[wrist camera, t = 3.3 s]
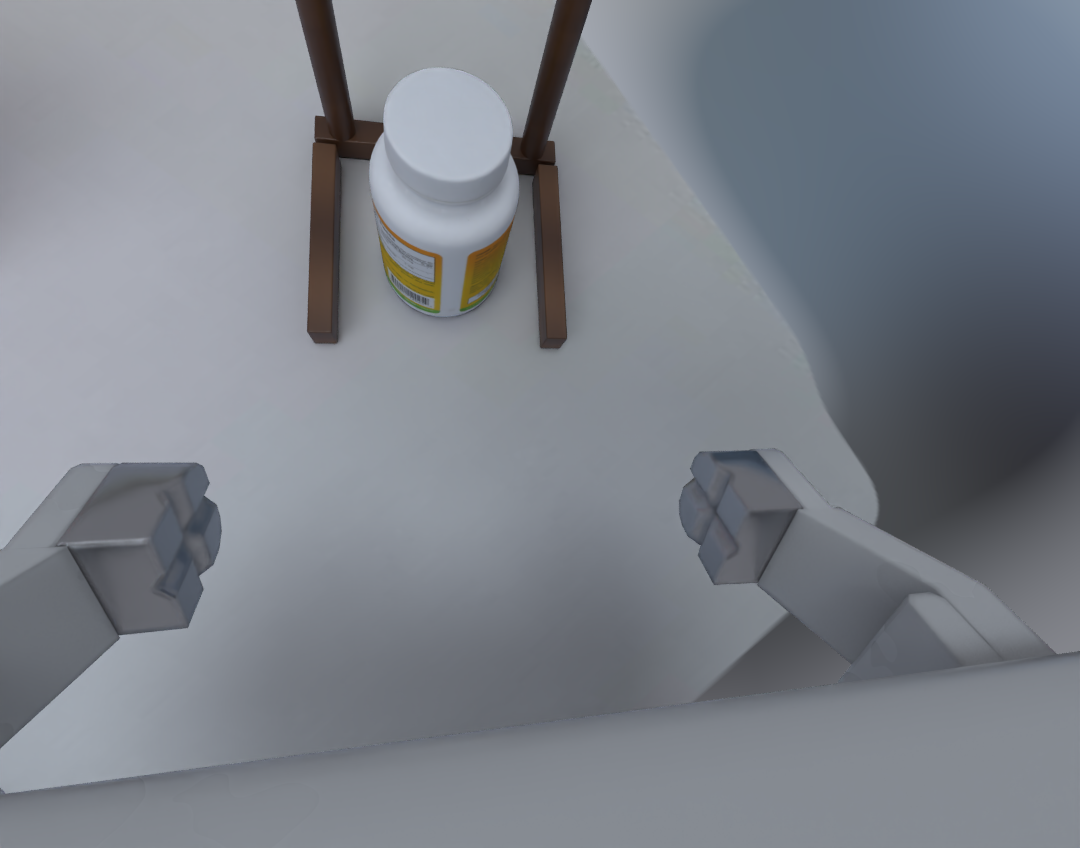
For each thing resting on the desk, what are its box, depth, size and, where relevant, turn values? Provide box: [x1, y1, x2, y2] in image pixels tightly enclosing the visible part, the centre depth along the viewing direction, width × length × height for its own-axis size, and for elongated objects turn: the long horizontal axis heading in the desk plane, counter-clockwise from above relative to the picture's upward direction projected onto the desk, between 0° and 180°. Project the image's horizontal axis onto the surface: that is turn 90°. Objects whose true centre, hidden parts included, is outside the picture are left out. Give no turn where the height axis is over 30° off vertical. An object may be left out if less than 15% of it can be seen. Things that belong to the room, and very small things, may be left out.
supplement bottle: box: [369, 67, 519, 317], centre depth 21 cm, size 5×5×10 cm
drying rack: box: [295, 0, 592, 348], centre depth 19 cm, size 11×11×14 cm
